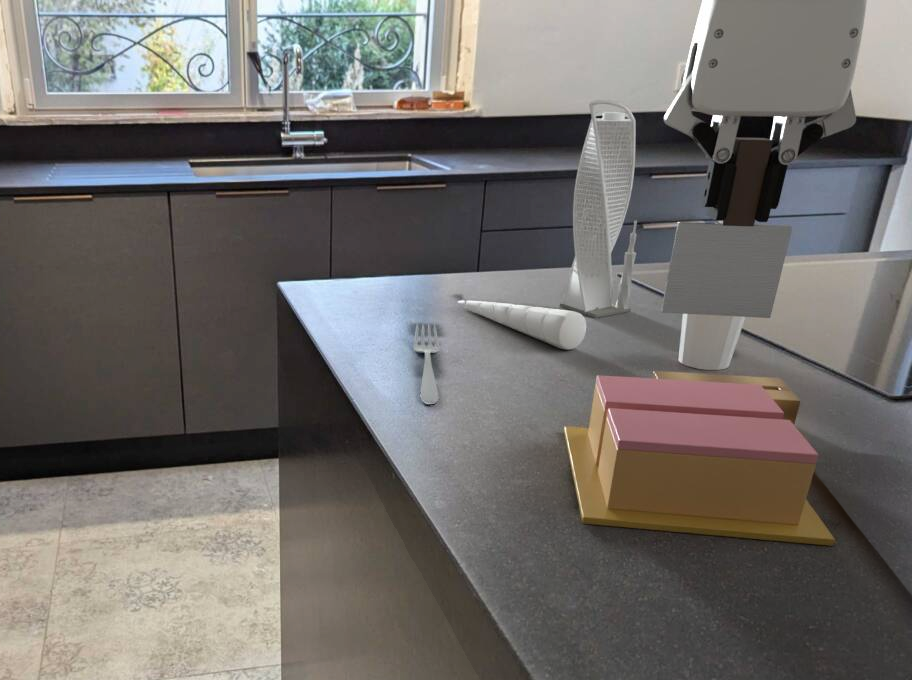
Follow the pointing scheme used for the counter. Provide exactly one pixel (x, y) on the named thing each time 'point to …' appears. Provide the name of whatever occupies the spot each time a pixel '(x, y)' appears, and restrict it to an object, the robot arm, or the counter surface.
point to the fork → (427, 365)
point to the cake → (694, 461)
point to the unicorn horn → (535, 321)
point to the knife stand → (771, 385)
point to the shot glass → (709, 340)
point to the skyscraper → (602, 214)
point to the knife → (730, 250)
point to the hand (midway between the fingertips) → (736, 216)
